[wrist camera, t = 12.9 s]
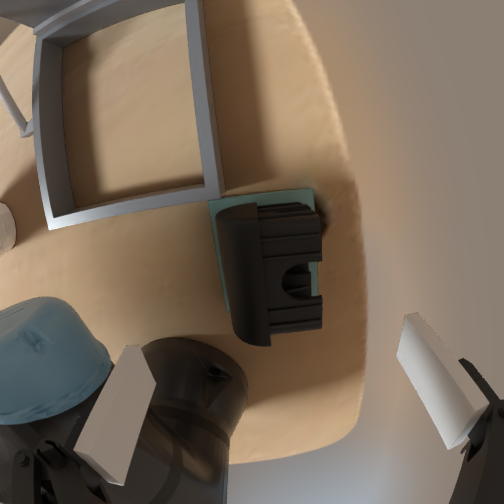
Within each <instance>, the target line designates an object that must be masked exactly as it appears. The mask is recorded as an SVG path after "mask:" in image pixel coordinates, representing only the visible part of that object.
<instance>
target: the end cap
mask: <svg viewBox="0 0 504 504" xmlns="http://www.w3.org/2000/svg"><path fill="white" fill-rule="evenodd" d="M215 223H216V229H217V236H218V242H219V249H220V255H221V261H222V267H223V273H224V279H225V285H226V291H227V297H228V302H229V308H230V314H231V319H232V325H233V330H234V332H235V334H236V336H237V337H238V338H239V339H241V340H242V341H243V342H246V343H248V344H251V345H255V346H263V347H265V346H271V339H270V335H273V334H282V333H291V332H299V331H307V330H314V329H321V328H322V296H321V295H319V296H312V288H311V272H310V271H309V263H310V262H319V261H322V239H321V222H320V217H319V215H318V214H317V213H316V212H315V211H313V210H311V207H310V206H309V205H307V204H302V203H301V202H291V203H280V204H270V205H260V206H257V202H252V203H245V204H240V205H236V206H232V207H228V208H225V209H223V210H221V211H219V212H218V213H217V214H216V216H215Z"/></svg>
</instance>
